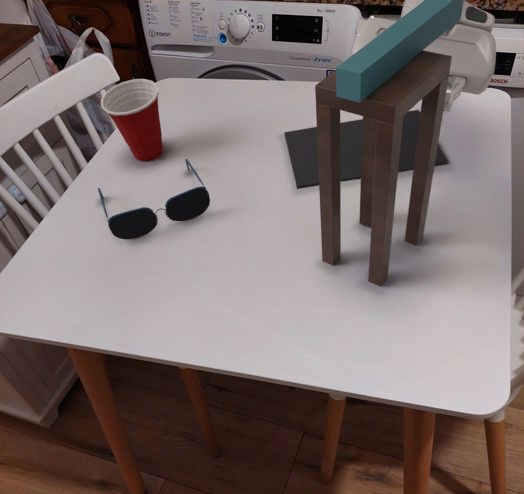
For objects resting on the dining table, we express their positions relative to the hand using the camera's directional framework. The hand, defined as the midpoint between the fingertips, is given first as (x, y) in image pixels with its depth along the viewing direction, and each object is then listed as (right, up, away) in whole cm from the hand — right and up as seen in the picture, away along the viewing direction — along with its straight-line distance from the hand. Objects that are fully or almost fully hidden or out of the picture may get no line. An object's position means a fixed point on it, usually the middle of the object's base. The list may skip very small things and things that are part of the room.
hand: (412, 102), depth 73 cm
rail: (-5, -2, -15) cm, 16 cm away
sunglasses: (-40, -10, +18) cm, 45 cm away
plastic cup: (-44, +3, +29) cm, 52 cm away
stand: (-5, -20, +4) cm, 21 cm away
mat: (-3, +2, +21) cm, 21 cm away
